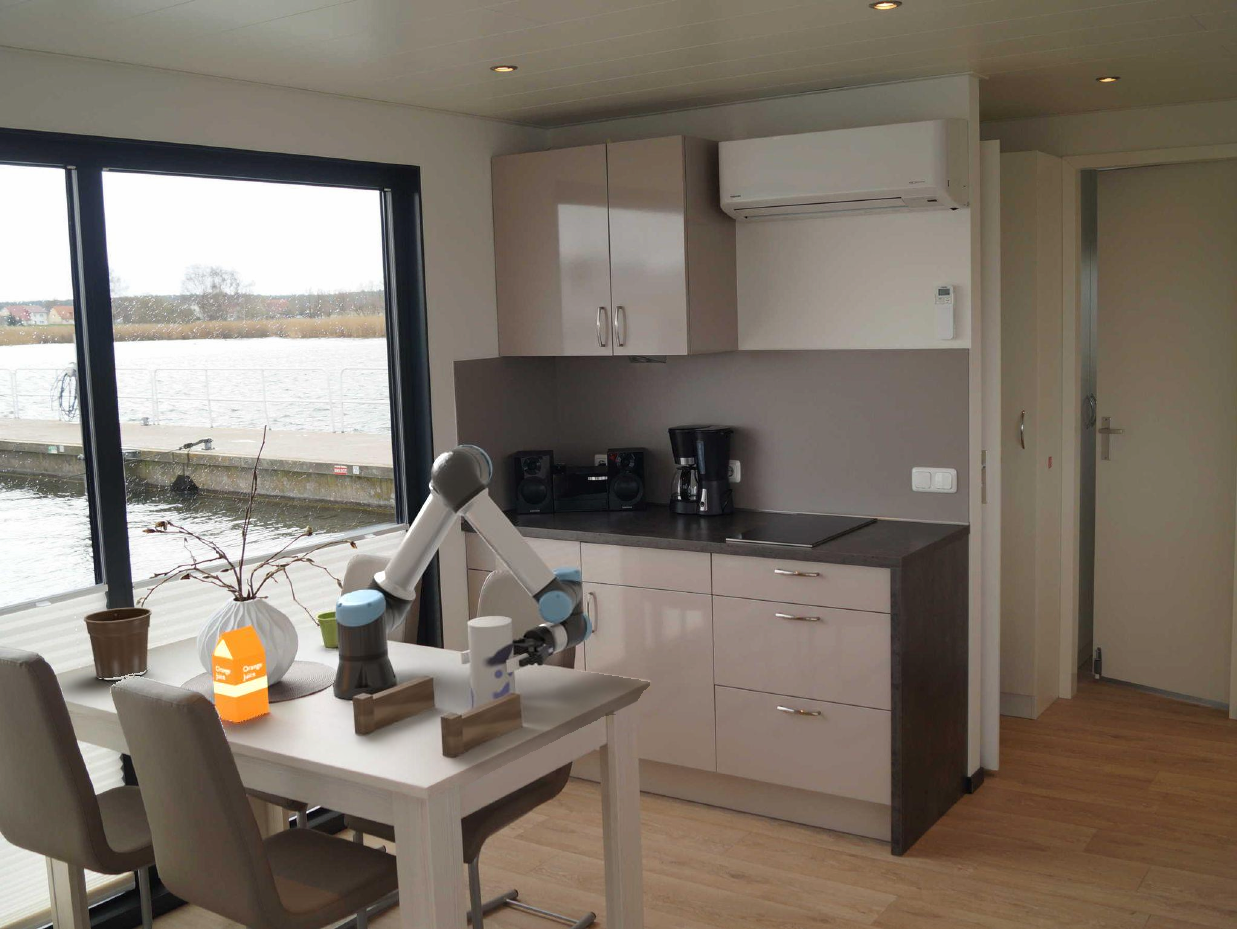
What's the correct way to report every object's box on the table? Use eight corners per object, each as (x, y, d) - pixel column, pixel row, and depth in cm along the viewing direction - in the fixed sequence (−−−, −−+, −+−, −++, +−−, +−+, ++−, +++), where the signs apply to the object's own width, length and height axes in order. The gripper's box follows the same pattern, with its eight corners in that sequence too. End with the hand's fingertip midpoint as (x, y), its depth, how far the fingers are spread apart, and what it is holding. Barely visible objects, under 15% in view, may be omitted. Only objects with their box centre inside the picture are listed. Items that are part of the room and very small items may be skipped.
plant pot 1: (155, 662, 307) (150, 603, 305) (158, 677, 292) (153, 616, 291) (89, 671, 300) (83, 611, 299) (88, 687, 286) (83, 624, 284)
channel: (354, 733, 244) (352, 696, 243) (426, 705, 262) (424, 671, 261) (453, 757, 227) (451, 718, 227) (522, 726, 245) (521, 689, 244)
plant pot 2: (343, 650, 313) (341, 619, 312) (312, 649, 315) (310, 618, 314) (358, 641, 322) (356, 611, 321) (327, 640, 324) (325, 610, 323)
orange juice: (215, 717, 258) (209, 631, 256) (248, 706, 265) (241, 623, 263) (237, 723, 254) (231, 635, 251) (270, 712, 261) (263, 626, 259)
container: (497, 716, 252) (493, 628, 250) (462, 709, 257) (458, 623, 255) (524, 703, 260) (520, 617, 258) (490, 697, 266) (486, 613, 264)
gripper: (586, 662, 266) (528, 686, 249) (505, 649, 280) (445, 671, 263) (585, 631, 265) (526, 653, 248) (503, 619, 280) (443, 639, 262)
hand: (484, 662), depth 256 cm, fingers open, 13 cm apart
